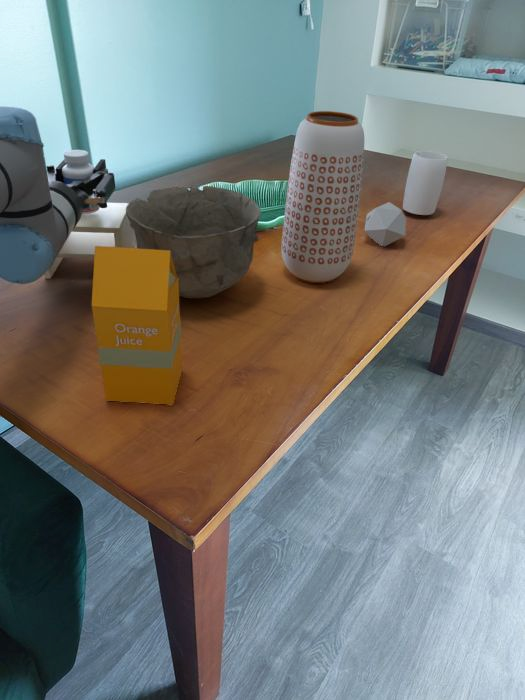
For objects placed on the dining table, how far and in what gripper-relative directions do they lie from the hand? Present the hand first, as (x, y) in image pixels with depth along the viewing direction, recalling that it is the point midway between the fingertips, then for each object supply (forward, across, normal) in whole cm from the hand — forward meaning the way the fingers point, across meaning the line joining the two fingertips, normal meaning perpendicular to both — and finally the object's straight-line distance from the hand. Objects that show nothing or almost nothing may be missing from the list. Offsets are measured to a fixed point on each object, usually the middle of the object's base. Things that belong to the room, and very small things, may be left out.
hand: (86, 166), depth 95 cm
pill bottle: (-5, 0, -6) cm, 8 cm away
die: (+10, +59, -17) cm, 62 cm away
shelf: (-5, 0, -17) cm, 17 cm away
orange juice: (-41, +15, -17) cm, 47 cm away
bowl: (-13, +20, -17) cm, 29 cm away
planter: (-6, +42, -17) cm, 46 cm away
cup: (+28, +72, -17) cm, 79 cm away
